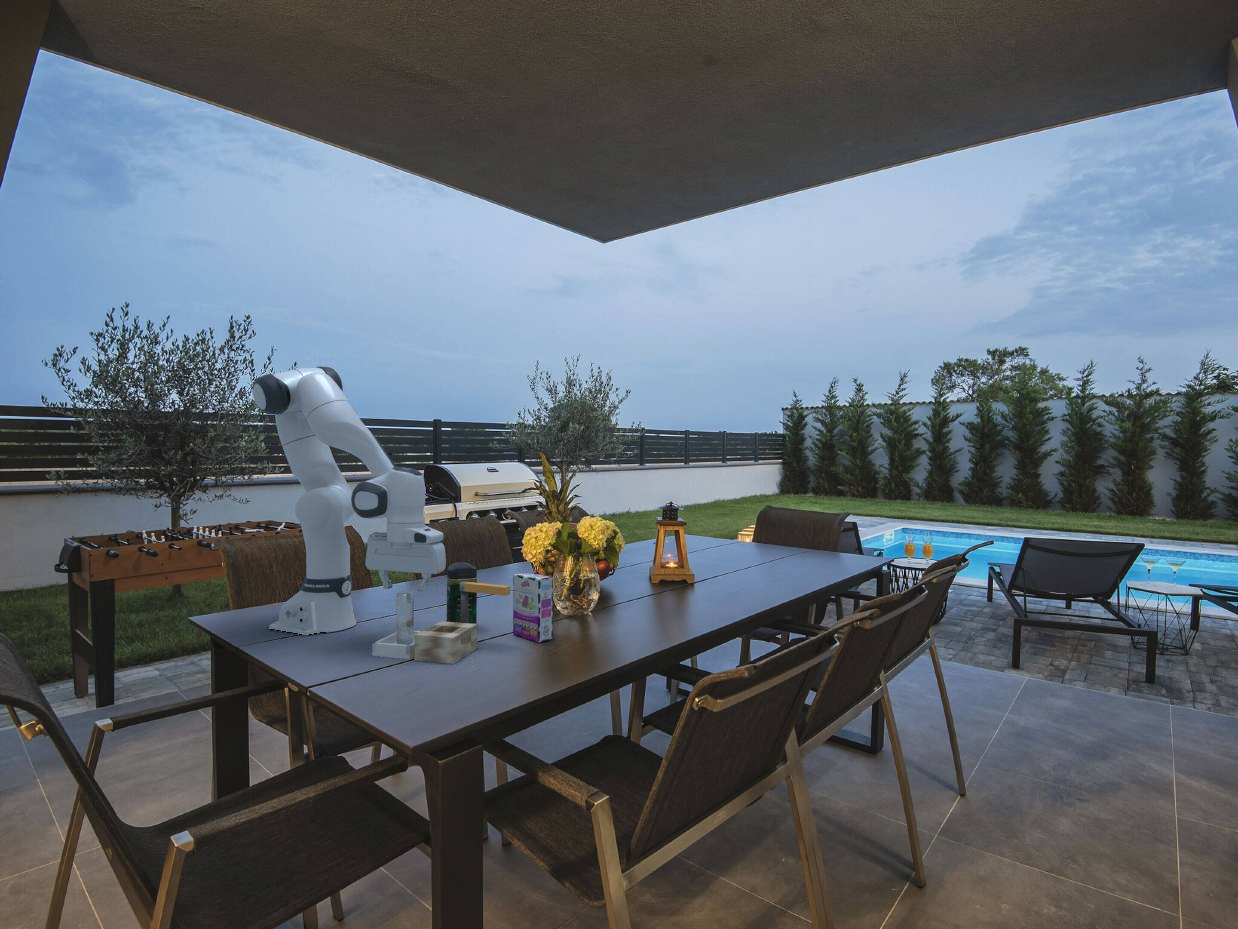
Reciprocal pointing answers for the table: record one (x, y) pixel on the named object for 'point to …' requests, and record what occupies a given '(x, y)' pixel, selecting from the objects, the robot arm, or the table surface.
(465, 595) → the block
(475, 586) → the bar
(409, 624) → the steel pin
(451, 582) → the coffee jar
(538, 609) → the candy bar box
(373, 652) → the tray
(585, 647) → the table surface
